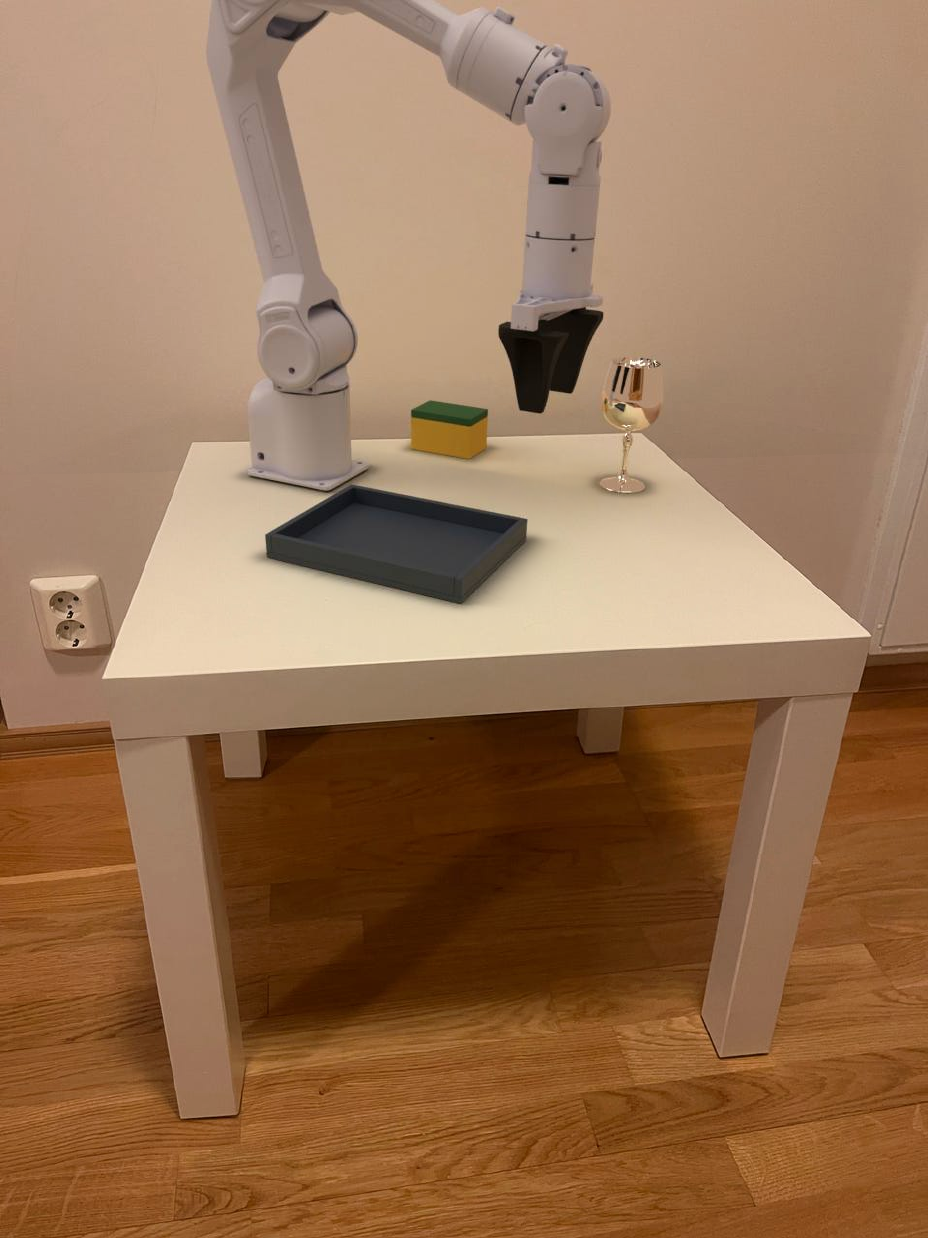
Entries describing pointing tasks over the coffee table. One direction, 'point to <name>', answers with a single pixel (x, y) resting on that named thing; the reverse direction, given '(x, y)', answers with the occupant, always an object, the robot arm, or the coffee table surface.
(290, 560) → the tray
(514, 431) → the coffee table surface
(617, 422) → the wineglass
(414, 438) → the sponge
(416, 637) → the coffee table surface
